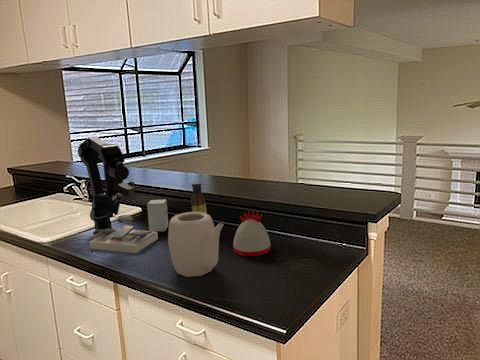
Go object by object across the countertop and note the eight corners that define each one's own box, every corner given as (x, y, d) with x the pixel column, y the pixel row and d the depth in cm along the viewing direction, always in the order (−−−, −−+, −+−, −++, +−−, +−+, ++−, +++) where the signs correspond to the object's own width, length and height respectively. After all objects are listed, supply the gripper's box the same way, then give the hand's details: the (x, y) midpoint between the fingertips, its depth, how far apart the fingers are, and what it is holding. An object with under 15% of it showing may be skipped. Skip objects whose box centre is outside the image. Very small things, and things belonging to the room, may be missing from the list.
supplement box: (165, 231, 176) (163, 203, 174) (149, 231, 177) (146, 203, 174) (169, 226, 184) (166, 199, 181) (152, 226, 184) (150, 199, 181)
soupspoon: (123, 225, 192) (135, 222, 196) (122, 218, 191) (135, 216, 195) (101, 215, 207) (113, 213, 211) (101, 209, 206) (113, 207, 211)
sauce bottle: (208, 224, 183) (206, 181, 180) (206, 228, 177) (203, 184, 173) (194, 224, 184) (191, 181, 180) (191, 228, 178) (188, 184, 174)
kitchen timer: (267, 256, 143) (266, 216, 140) (230, 255, 146) (227, 215, 143) (272, 243, 156) (271, 205, 153) (237, 242, 159) (236, 205, 156)
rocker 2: (113, 240, 159) (112, 236, 159) (125, 228, 167) (124, 225, 166) (122, 241, 158) (121, 237, 157) (134, 229, 165) (133, 225, 165)
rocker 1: (95, 233, 161) (95, 229, 161) (109, 233, 170) (110, 229, 170) (104, 234, 160) (104, 229, 160) (118, 234, 168) (118, 229, 168)
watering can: (207, 292, 119) (203, 230, 115) (154, 269, 137) (149, 215, 133) (243, 273, 130) (240, 217, 126) (189, 255, 148) (185, 205, 144)
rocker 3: (129, 237, 156) (129, 233, 156) (142, 234, 164) (142, 230, 164) (139, 238, 154) (139, 233, 154) (151, 235, 163) (152, 231, 163)
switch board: (88, 248, 159) (87, 238, 159) (113, 235, 174) (112, 225, 173) (137, 253, 152) (136, 242, 151) (159, 239, 166) (159, 229, 166)
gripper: (115, 182, 149) (119, 223, 153) (142, 172, 166) (145, 209, 170) (90, 181, 153) (94, 220, 156) (119, 171, 170) (122, 207, 173)
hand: (116, 214), depth 164 cm, fingers closed
